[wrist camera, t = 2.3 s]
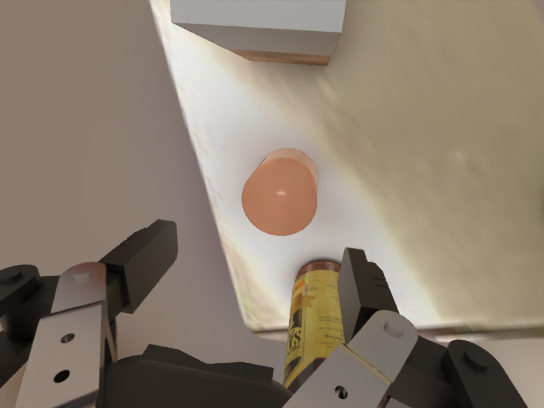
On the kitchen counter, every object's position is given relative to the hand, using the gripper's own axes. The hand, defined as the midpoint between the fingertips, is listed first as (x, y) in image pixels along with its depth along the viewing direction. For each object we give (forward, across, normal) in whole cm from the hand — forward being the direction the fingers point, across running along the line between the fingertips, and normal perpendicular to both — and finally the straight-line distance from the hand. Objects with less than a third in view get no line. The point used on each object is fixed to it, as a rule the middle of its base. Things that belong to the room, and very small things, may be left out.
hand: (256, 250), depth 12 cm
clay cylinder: (+12, 0, 0) cm, 12 cm away
